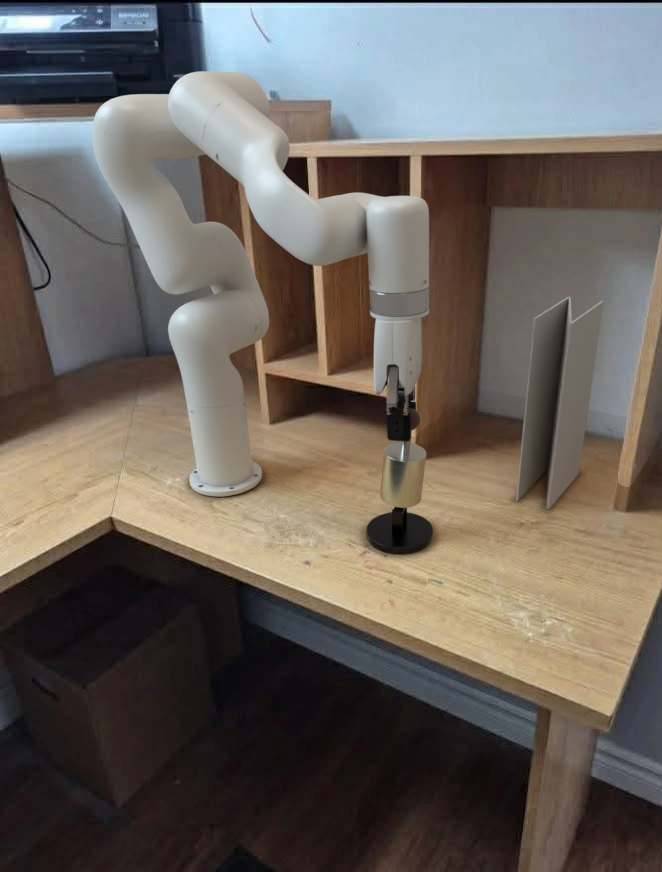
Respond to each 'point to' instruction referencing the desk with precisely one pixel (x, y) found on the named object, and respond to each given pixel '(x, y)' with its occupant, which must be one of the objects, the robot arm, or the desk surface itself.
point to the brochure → (557, 397)
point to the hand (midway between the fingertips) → (402, 432)
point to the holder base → (399, 532)
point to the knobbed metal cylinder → (403, 471)
